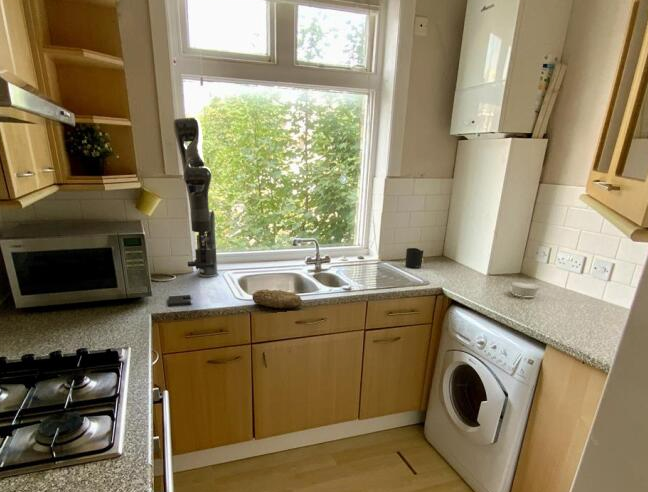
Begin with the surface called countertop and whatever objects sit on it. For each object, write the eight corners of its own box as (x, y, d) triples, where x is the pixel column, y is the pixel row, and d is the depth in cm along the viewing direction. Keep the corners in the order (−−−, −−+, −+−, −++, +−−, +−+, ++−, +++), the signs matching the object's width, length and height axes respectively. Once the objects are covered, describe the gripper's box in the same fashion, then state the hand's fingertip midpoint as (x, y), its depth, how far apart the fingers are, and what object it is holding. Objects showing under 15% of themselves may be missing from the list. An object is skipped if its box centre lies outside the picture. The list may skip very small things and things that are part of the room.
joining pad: (187, 262, 179) (186, 247, 176) (211, 261, 181) (210, 246, 179) (188, 268, 170) (187, 252, 167) (213, 267, 172) (212, 251, 170)
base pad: (169, 298, 182) (168, 296, 181) (190, 297, 184) (190, 294, 184) (168, 306, 173) (168, 303, 172) (191, 304, 175) (190, 302, 175)
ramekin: (530, 292, 199) (533, 281, 197) (540, 300, 189) (543, 288, 187) (506, 291, 200) (508, 280, 198) (514, 298, 190) (517, 287, 188)
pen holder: (404, 268, 238) (406, 250, 234) (405, 264, 246) (406, 247, 243) (421, 269, 236) (423, 252, 232) (421, 265, 244) (423, 248, 240)
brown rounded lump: (250, 308, 176) (285, 310, 163) (249, 289, 175) (284, 289, 162) (272, 306, 186) (306, 307, 173) (271, 288, 185) (306, 288, 172)
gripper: (190, 217, 174) (193, 257, 180) (191, 221, 162) (195, 265, 168) (208, 216, 176) (211, 257, 182) (211, 221, 164) (214, 264, 170)
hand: (203, 261), depth 175 cm, fingers closed on joining pad
